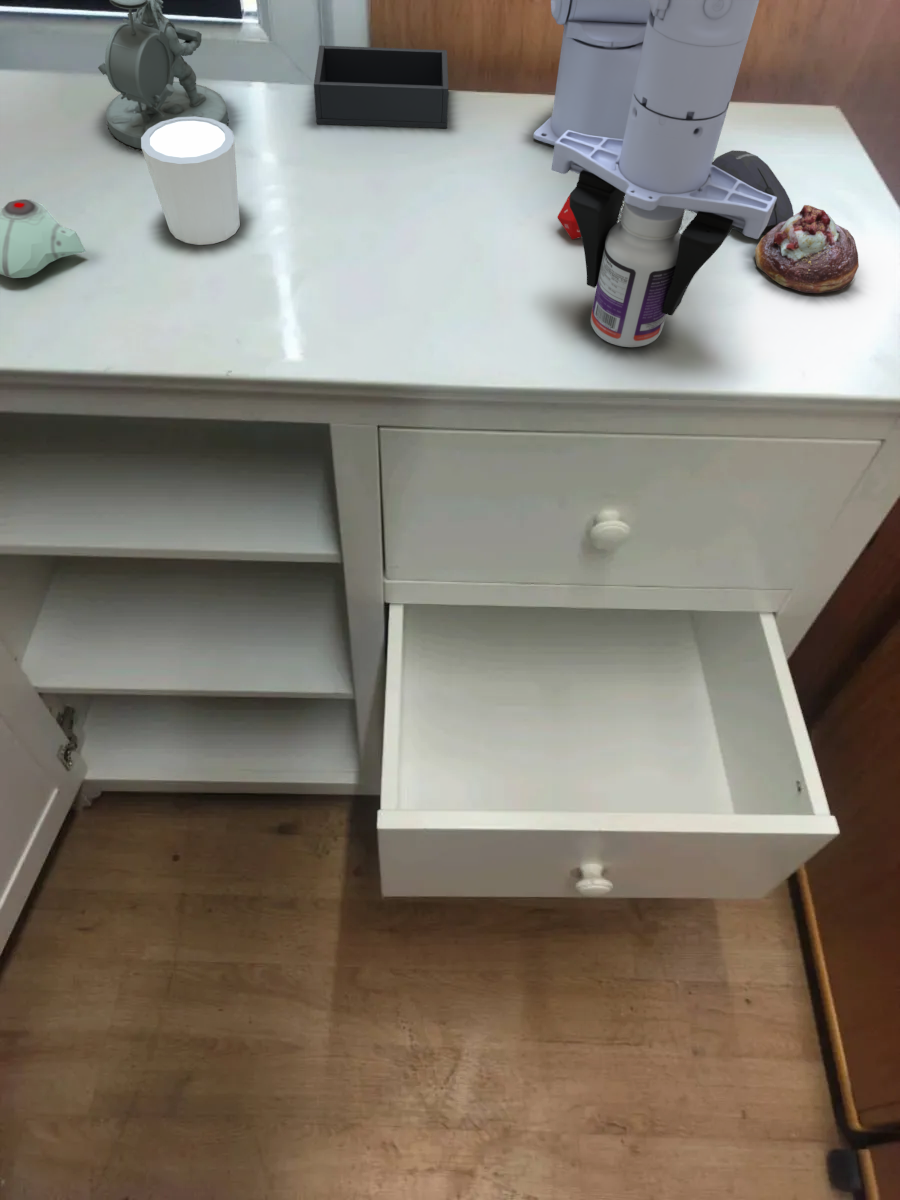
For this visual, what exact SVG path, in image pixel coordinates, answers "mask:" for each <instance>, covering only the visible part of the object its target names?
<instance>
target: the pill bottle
mask: <svg viewBox="0 0 900 1200" xmlns="http://www.w3.org/2000/svg"><path fill="white" fill-rule="evenodd" d="M622 206H623V207H622V212H621V217H620V220H618V221H617V223H616V224H615V225H614V226H613V227H612V228H611V229H610V231H609V232H608V235H607V238H606V241H605V246H604V252H603V257H602V262H601V267H600V272H599V277H598V282H597V286H596V287H595V293H594V298H593V303H592V308H591V315H590V325H591V327H592V329H593V331H594V332H595V334H596V335H597V336H598V337H599V338H600V339H602V340H604V341H605V342H607V343H608V344H611V345H614V346H618V347H624V348H638V347H644V346H647V345H650V344H652V343H653V342H655V341H656V340H657V339H658V338H659V336H660V335H661V333H662V331H663V328H664V325H665V322H666V318H667V314H664V313H662V311H663V306H664V302H665V299H666V296H667V293H668V290H669V288H670V285H671V282H672V279H673V276H674V271H675V267H676V262H677V256H678V250H679V241H680V237H681V234H682V233H680V230H681V227H682V223H683V219H684V215H685V210H686V209H680V208H673V207H665V206H657V207H656V208H655V209H654V210H650V211H648V210H644V209H641V208H638V207H635V206H632V205H629V204H627V203H626V202H625V201H623V205H622Z"/></svg>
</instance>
